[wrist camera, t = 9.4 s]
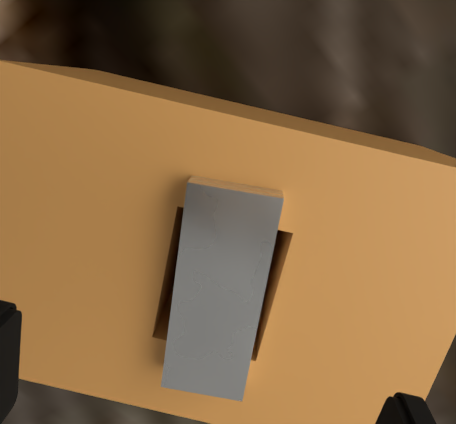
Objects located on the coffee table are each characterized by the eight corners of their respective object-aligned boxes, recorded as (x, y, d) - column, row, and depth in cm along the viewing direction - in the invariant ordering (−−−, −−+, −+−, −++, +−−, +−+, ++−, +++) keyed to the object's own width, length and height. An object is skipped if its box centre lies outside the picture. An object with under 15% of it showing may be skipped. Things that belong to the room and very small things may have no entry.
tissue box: (96, 69, 24) (-7, 59, 15) (420, 145, 24) (524, 183, 15) (72, 275, 29) (-20, 369, 19) (348, 340, 29) (394, 466, 19)
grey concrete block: (213, 146, 23) (187, 182, 15) (273, 156, 23) (283, 198, 14) (193, 285, 26) (160, 386, 17) (247, 295, 26) (242, 401, 17)
